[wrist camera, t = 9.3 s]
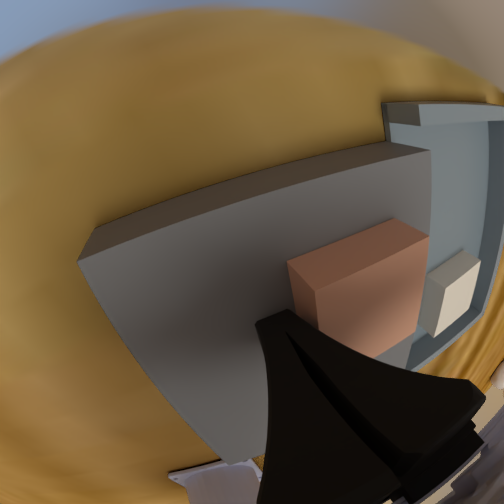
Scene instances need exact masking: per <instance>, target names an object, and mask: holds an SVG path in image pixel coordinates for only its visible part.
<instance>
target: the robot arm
mask: <svg viewBox="0 0 504 504" xmlns="http://www.w3.org/2000/svg"><path fill="white" fill-rule="evenodd" d="M254 325H255V328H256V331H257V334H258V338H259V341H260V344H261V347H262V350H263V354H264V358H265V364H266V373H267V386H268V426H267V441H266V450H265V457H264V465H263V471H261V470H260V468H259V467H258V466H257V465H256V463H255V462H254V461H253V460H252V458H251V459H248V460H245V461H242V462H239V463H236V464H233V465H227V464H226V463H225V462H224V461H223V460H221V461H218V462H214V463H211V464H207V465H203V466H199V467H195V468H191V469H187V470H182V471H178V472H173V473H169V474H168V478H170V479H171V480H173V481H175V482H176V483H178V484H180V485H182V486H184V487H185V488H186V490H187V494H188V498H189V502H190V504H383V503H384V502H386V501H388V500H389V499H391V501H392V502H393V503H392V504H420V503H421V502H423V501H424V500H425V499H427V498H428V497H429V496H431V495H432V494H433V493H435V492H436V491H437V490H438V489H440V488H441V487H442V486H443V485H444V484H445V483H447V482H448V481H449V480H450V479H451V478H453V477H454V476H455V475H456V474H457V473H458V472H459V471H461V470H462V469H463V468H464V467H465V466H466V465H467V464H468V463H469V462H470V461H471V460H472V459H473V458H474V457H475V456H476V455H477V454H478V453H479V452H480V451H481V456H480V458H479V459H477V460H476V461H475V462H474V463H473V464H471V465H470V466H469V467H468V468H467V469H466V470H464V471H463V473H461V474H460V475H459V476H458V477H457V478H456V479H455V480H454V481H453V482H452V483H451V487H452V488H453V491H452V492H451V493H449V494H448V495H447V496H445V497H444V498H443V499H442V500H440V501H439V502H438V503H436V504H504V405H503V406H502V408H501V409H500V410H499V411H498V412H497V414H496V415H495V416H494V417H493V418H492V419H491V420H490V421H489V422H488V424H487V425H486V426H485V427H484V428H483V429H482V430H481V431H480V432H479V433H478V434H477V433H476V432H475V431H474V430H473V429H474V428H475V427H476V425H475V424H474V422H473V421H472V420H471V419H472V418H473V417H474V415H475V414H476V413H477V411H478V410H479V409H480V408H481V406H482V405H483V404H484V402H485V400H486V396H485V395H484V394H483V393H482V392H481V391H480V390H479V389H478V388H477V387H476V386H475V385H474V384H473V383H472V382H470V381H469V380H467V379H455V378H445V377H438V376H432V375H427V374H422V373H418V372H414V371H410V370H406V369H403V368H399V367H395V366H392V365H390V364H387V363H384V362H381V361H378V360H376V359H373V358H371V357H368V356H366V355H364V354H362V353H360V352H357V351H355V350H353V349H351V348H349V347H347V346H345V345H343V344H342V343H340V342H338V341H336V340H334V339H333V338H331V337H329V336H328V335H326V334H324V333H323V332H321V331H320V330H318V329H316V328H315V327H313V326H312V325H310V324H309V323H307V322H306V321H305V320H303V319H302V318H300V317H299V316H298V315H296V314H295V313H294V312H292V311H291V310H289V309H285V310H283V311H280V312H278V313H276V314H273V315H271V316H268V317H266V318H263V319H261V320H258V321H256V323H255V324H254ZM259 481H261V482H259Z"/></svg>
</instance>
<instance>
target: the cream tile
mask: <svg viewBox="0 0 504 504" xmlns="http://www.w3.org/2000/svg"><path fill="white" fill-rule="evenodd" d="M480 263H481V260H479V259H478V258H476V257H474V256H473V255H471V254H469V253H468V252H466V251H464V250H462V251H461V252H459V253H458V254H456V255H455V256H454V257H452V258H451V259H449V260H448V261H446V262H445V263H443V264H442V265H440V266H439V267H437V268H436V269H434V270H433V271H431V272H430V273H428V274H427V275H426V279H425V286H424V293H423V299H422V305H421V311H420V316H419V322H418V325H419V326H421V327H422V328H423V329H424V330H425V331H426V332H427V333H429V334H430V335H431V336H432V337H433V338H434V337H436V336H437V335H438V334H439V333H441V332H442V331H443V330H444V329H446V328H447V327H448V326H449V325H451V324H452V323H453V322H454V321H455V320H456V319H458V318H459V317H460V316H461V315H462V314H463V313H465V312H466V311H467V310H468V309H469V306H470V303H471V300H472V296H473V292H474V288H475V285H476V281H477V276H478V272H479V267H480Z"/></svg>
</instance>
